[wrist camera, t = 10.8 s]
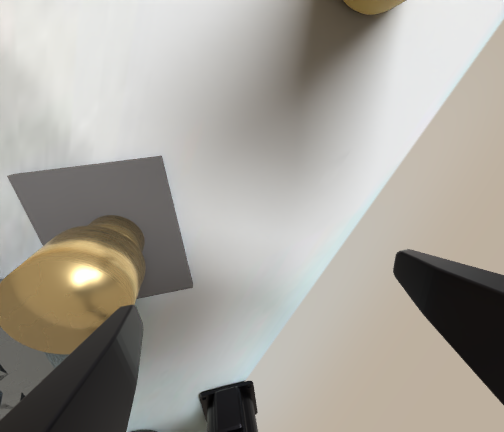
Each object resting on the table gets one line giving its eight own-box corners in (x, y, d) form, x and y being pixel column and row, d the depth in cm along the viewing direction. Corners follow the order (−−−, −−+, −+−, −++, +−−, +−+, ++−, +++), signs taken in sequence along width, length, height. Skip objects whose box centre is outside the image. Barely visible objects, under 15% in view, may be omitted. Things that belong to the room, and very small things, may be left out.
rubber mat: (192, 283, 23) (192, 287, 22) (79, 305, 22) (76, 310, 21) (161, 155, 18) (160, 157, 17) (13, 174, 17) (7, 176, 16)
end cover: (162, 265, 21) (143, 340, 14) (88, 278, 20) (27, 365, 13) (144, 199, 18) (109, 250, 11) (58, 212, 18) (-36, 274, 11)
